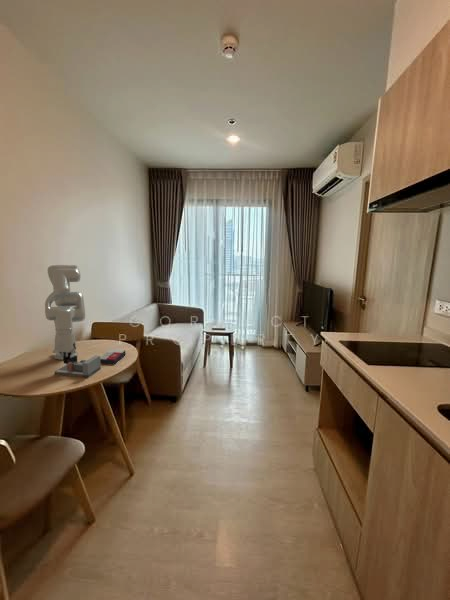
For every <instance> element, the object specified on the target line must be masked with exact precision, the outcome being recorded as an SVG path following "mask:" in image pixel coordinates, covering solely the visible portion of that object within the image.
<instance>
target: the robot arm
mask: <svg viewBox="0 0 450 600" xmlns="http://www.w3.org/2000/svg"><path fill="white" fill-rule="evenodd" d="M80 271H81V270H80V268H79V266H78V265H74V264H71V265H69V264H54V265H50V266H48V267H47V275H48V278H49V281H50V283H51V284H52V286H53V287H52V288H53V289H52V290H53V291H52V292H51V293H50V294H49V295H48V296H47V297H46V299H45V302H44V315H45V319H46V320H48V321H53V323H54V328H55V335H54V336H55V337H54V349H53V350H52V353H53V354H55V355H54V359H55V360H58V361H61V360H62V361H63V364H65V365H66V364H67V359H69V358H71V357H73V356H74V355H75V356H77V357H78V355H79V354H78V352H77V351H76V350H77V341H76V336H75V334H74V333H75V331H74V328H73V323H79V322H83V321H85V319H86V309H85V308H86V307H85V302H84V301H85V300H84V295H83V293H81V292H80V291H71V286H70V284H71V283H79V282H80V281H81V272H80ZM53 303H54V304H55V306H51V305H52V304H53Z"/></svg>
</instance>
